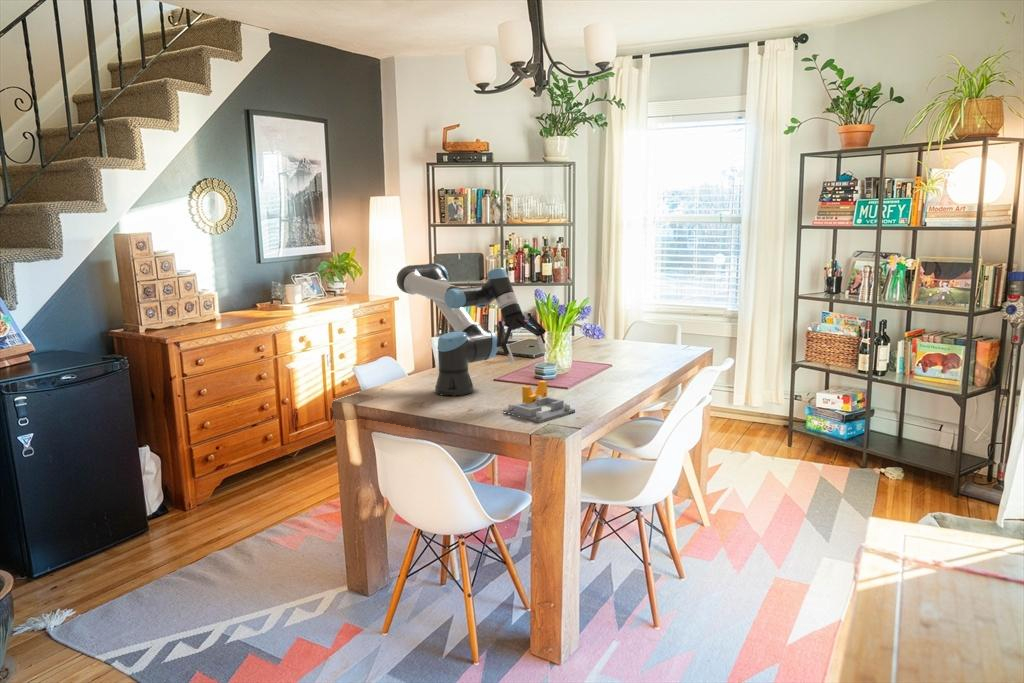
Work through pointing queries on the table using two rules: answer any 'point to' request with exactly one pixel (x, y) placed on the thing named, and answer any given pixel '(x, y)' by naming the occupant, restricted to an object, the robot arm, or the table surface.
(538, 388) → the orange bracket
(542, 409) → the chassis
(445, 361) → the robot arm
